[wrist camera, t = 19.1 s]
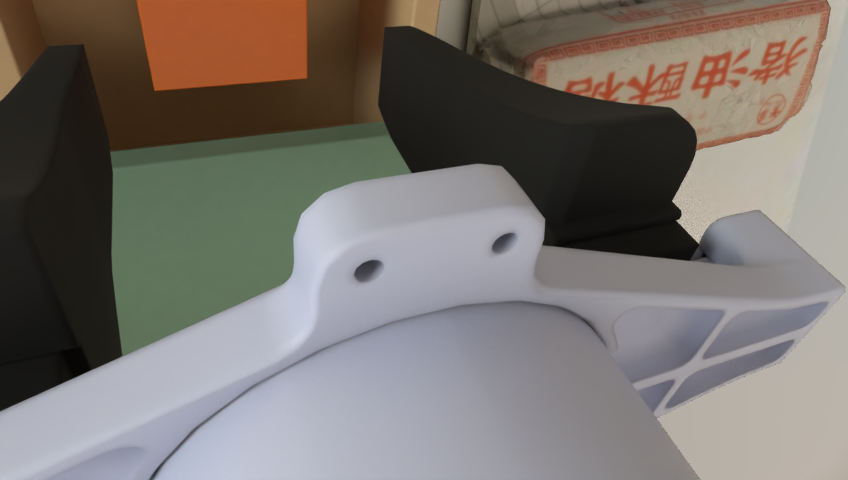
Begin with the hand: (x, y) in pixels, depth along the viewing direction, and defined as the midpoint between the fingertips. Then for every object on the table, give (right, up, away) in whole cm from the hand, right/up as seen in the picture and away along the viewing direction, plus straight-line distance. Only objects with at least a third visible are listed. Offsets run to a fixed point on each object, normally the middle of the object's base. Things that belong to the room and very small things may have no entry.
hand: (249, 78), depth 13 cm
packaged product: (+13, +5, +16) cm, 22 cm away
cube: (-3, +5, +4) cm, 7 cm away
